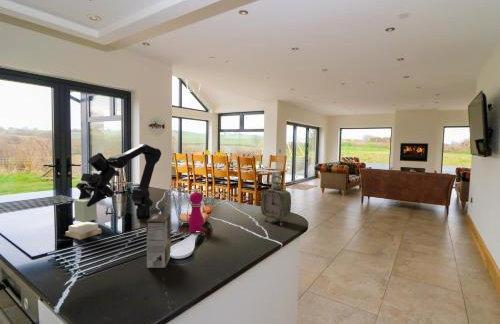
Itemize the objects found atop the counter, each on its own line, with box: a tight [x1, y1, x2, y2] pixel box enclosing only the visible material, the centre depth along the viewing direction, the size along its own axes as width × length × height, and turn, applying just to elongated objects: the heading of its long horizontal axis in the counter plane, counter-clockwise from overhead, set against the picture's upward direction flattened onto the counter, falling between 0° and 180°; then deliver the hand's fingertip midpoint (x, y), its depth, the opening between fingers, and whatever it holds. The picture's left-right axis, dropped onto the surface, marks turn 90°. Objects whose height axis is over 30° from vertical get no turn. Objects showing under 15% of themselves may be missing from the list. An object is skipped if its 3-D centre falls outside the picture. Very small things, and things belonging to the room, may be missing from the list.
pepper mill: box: [187, 188, 205, 234], centre depth 131 cm, size 7×7×20 cm
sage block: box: [73, 197, 98, 223], centre depth 122 cm, size 6×6×9 cm
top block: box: [68, 221, 99, 234], centre depth 123 cm, size 8×8×2 cm
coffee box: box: [146, 213, 172, 269], centre depth 96 cm, size 9×6×16 cm
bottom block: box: [65, 227, 102, 241], centre depth 123 cm, size 10×10×2 cm
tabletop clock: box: [260, 175, 292, 226], centre depth 147 cm, size 14×9×25 cm, turn 47°
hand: (82, 205), depth 121 cm, fingers closed on sage block, 6 cm apart
